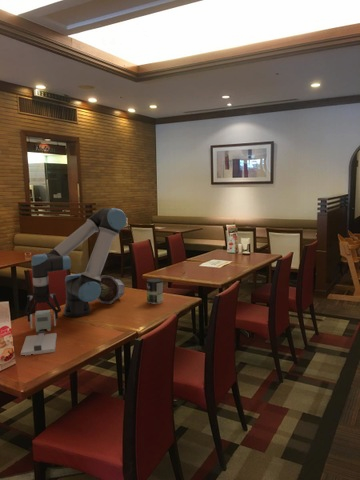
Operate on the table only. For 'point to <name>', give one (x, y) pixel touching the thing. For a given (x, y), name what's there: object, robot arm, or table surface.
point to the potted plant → (110, 289)
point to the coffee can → (155, 290)
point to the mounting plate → (39, 343)
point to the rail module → (43, 320)
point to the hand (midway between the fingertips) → (43, 326)
